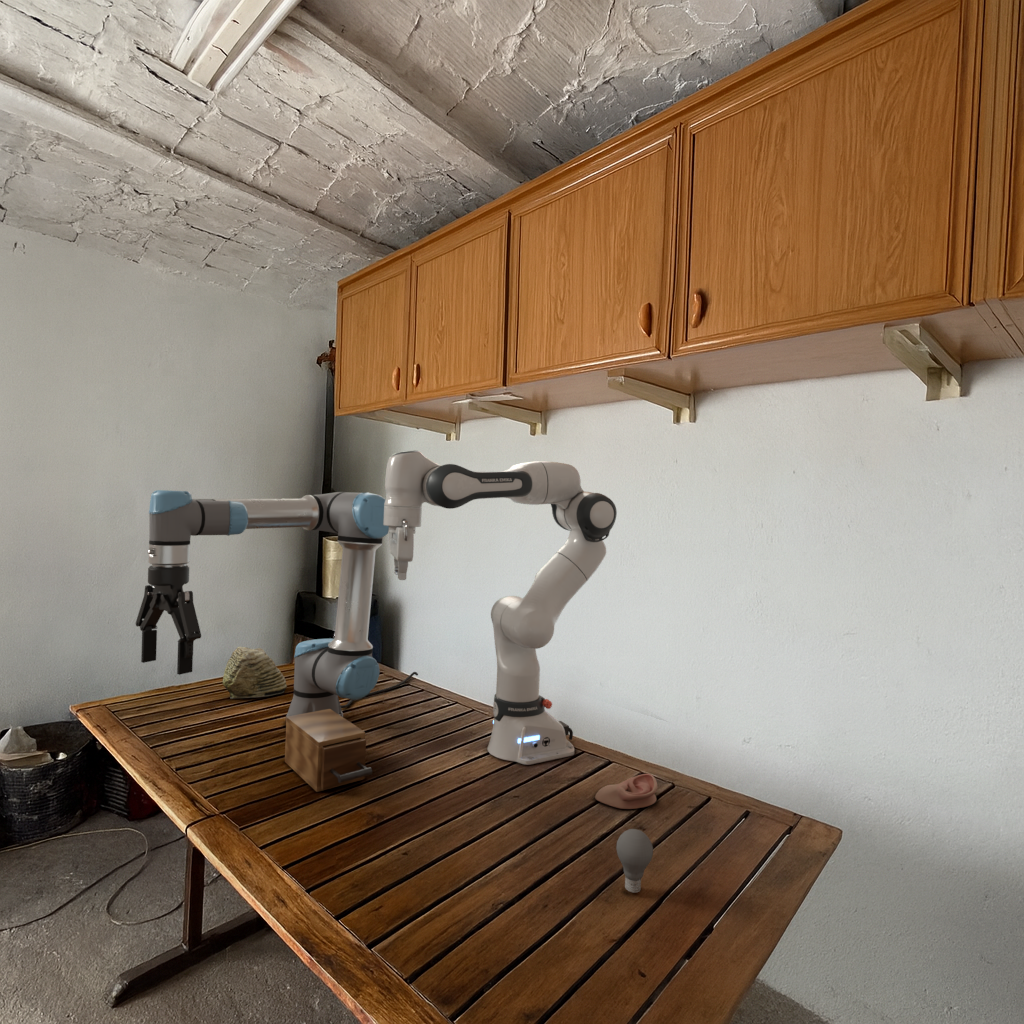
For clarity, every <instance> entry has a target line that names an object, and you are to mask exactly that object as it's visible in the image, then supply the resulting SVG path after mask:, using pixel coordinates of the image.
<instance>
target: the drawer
mask: <svg viewBox="0 0 1024 1024" xmlns="http://www.w3.org/2000/svg"><path fill="white" fill-rule="evenodd" d="M366 753H367V739H366V738H365V739H364V738H363V739H358V740H357V739H352V740H348V741H344V742H339V743H335V744H330V745H326V746H323V748H322V771H321V788H322V789H323V791H326V790H329V789H328V788H330V789H333V788H332V787H334V788H337V787H340V786H339V785H341V786H344V785H343V784H345V785H348V784H351V783H350V782H352V783H355V782H354V781H356V782H359V781H362V780H361V779H363V780H365V779H366V777H368V776H371V775H373V769H372V767H371V766H369V767H367V766H366V756H367V755H366ZM358 780H359V781H358ZM347 783H348V784H347ZM336 786H337V787H336ZM325 789H326V790H325Z"/></svg>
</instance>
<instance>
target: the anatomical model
mask: <svg viewBox="0 0 1024 1024" xmlns="http://www.w3.org/2000/svg"><path fill="white" fill-rule="evenodd" d="M657 791H658V782H657V779H656V777H655V776H654V775H653V774H651V773H642V774H639V775H635V776H632V777H630V778H628V779H626V780H624V781H622V782H620V783H616V784H607V785H605V786H602V787H601V788H600V789H599V790H598V791H596V793H595V795H594V798H595V800H596V801H597V802H599V803H602V804H604V805H607V806H610V807H613V808H617V809H621V810H632V809H640V808H646V807H650V806H652V805H654V804H655V803H656V802H657V796H656V792H657Z"/></svg>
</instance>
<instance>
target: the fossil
mask: <svg viewBox="0 0 1024 1024" xmlns="http://www.w3.org/2000/svg"><path fill="white" fill-rule="evenodd" d="M222 676H223V677H222V685H223V687H224V688H225V690H226V691H228V693H229V698H230V699H250V698H264V697H271V696H275V695H281V694H284V693H285V691H286V689H287V687H288V686H287V680H286V678H285V676H284V674H283V673H282V672H281V669H279V668H278V667H277V665H276V663H275V662H274V660H273V659H272V658H271V657H270V656H269V655H268V654H267V653H266V652H265V650H264V649H263V648H260V647H258V648H251V647H247V646H246V647H245V646H238V647H237V648H236V649H235V650H233V651H232V653H231V656H230V657H229V659H228V660H227V663H226V666H225V668H224V671H223V675H222Z"/></svg>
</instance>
